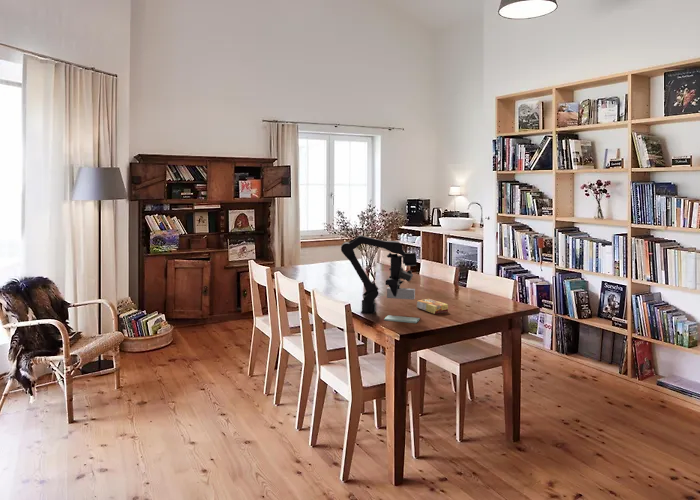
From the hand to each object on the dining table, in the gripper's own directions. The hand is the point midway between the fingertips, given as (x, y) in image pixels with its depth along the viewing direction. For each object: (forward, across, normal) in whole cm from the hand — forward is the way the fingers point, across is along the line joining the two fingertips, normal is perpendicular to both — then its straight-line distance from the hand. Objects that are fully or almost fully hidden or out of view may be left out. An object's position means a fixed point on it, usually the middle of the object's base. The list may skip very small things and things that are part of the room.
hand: (395, 295), depth 278 cm
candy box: (+6, +6, -23) cm, 25 cm away
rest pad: (+9, -14, -7) cm, 18 cm away
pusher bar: (+1, 0, -3) cm, 3 cm away
